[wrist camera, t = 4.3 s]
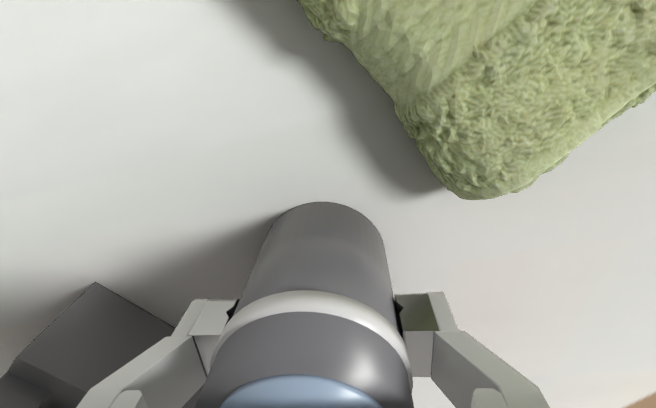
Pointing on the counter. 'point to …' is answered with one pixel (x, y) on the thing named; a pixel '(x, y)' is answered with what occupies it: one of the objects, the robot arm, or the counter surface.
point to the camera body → (81, 352)
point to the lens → (314, 321)
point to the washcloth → (499, 77)
